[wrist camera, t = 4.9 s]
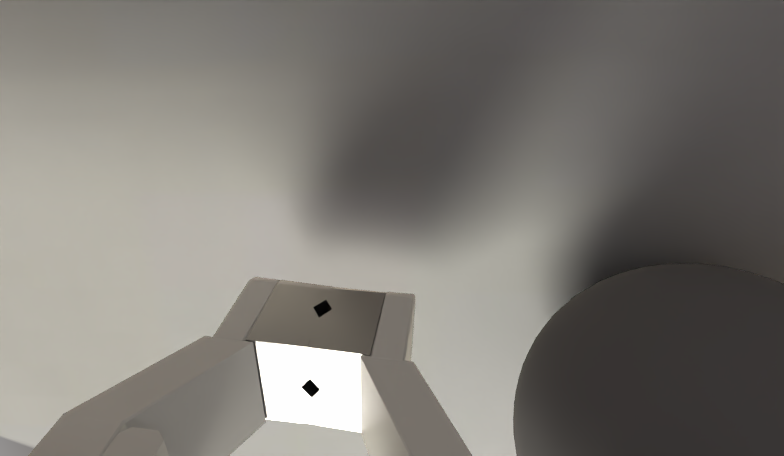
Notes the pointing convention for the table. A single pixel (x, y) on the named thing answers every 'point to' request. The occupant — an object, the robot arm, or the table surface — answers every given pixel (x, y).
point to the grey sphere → (658, 368)
